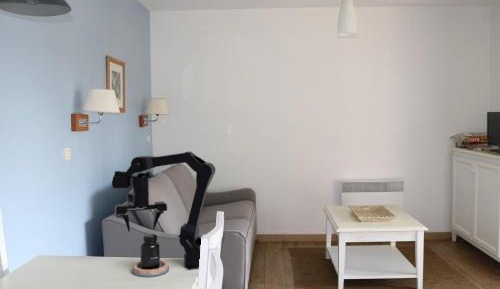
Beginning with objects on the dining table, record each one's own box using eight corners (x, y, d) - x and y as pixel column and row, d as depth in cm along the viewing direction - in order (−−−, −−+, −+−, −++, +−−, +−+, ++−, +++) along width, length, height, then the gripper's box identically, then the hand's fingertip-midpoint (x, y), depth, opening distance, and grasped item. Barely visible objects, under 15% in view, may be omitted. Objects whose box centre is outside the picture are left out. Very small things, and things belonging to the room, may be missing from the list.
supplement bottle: (155, 272, 153) (154, 238, 152) (137, 270, 154) (136, 237, 153) (163, 265, 159) (162, 233, 159) (146, 264, 161) (145, 232, 160)
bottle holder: (165, 263, 165) (165, 257, 165) (172, 274, 153) (172, 268, 153) (130, 267, 160) (130, 261, 160) (135, 279, 148) (134, 273, 148)
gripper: (161, 185, 174) (162, 223, 175) (113, 187, 167) (113, 227, 168) (167, 189, 163) (167, 229, 164) (116, 192, 156) (116, 234, 157)
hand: (141, 230), depth 164 cm, fingers open, 9 cm apart
